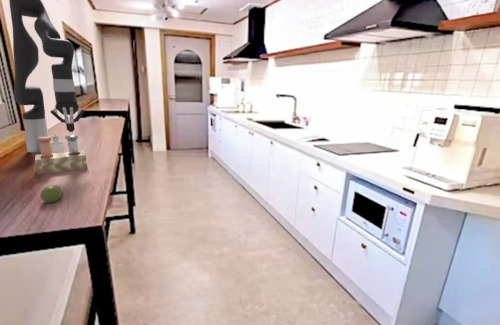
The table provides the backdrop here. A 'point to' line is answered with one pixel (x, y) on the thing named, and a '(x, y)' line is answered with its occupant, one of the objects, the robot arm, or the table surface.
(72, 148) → the steel plunger
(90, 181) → the table surface
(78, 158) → the beige rectangular block
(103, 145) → the table surface
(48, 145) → the terracotta plunger
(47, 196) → the green rounded lump
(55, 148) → the eye dropper bottle
